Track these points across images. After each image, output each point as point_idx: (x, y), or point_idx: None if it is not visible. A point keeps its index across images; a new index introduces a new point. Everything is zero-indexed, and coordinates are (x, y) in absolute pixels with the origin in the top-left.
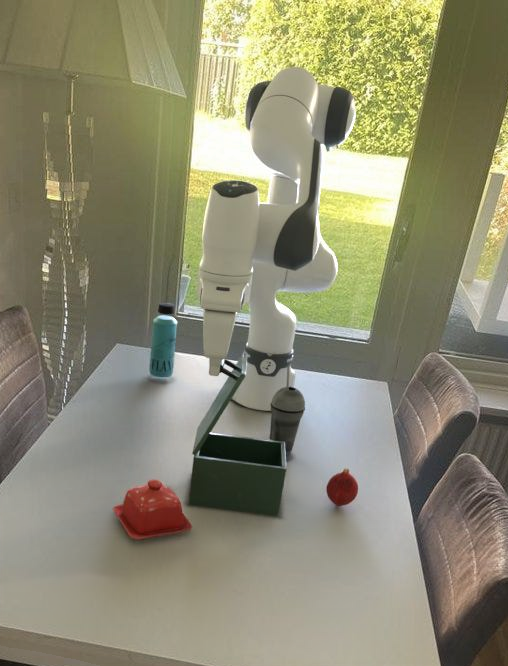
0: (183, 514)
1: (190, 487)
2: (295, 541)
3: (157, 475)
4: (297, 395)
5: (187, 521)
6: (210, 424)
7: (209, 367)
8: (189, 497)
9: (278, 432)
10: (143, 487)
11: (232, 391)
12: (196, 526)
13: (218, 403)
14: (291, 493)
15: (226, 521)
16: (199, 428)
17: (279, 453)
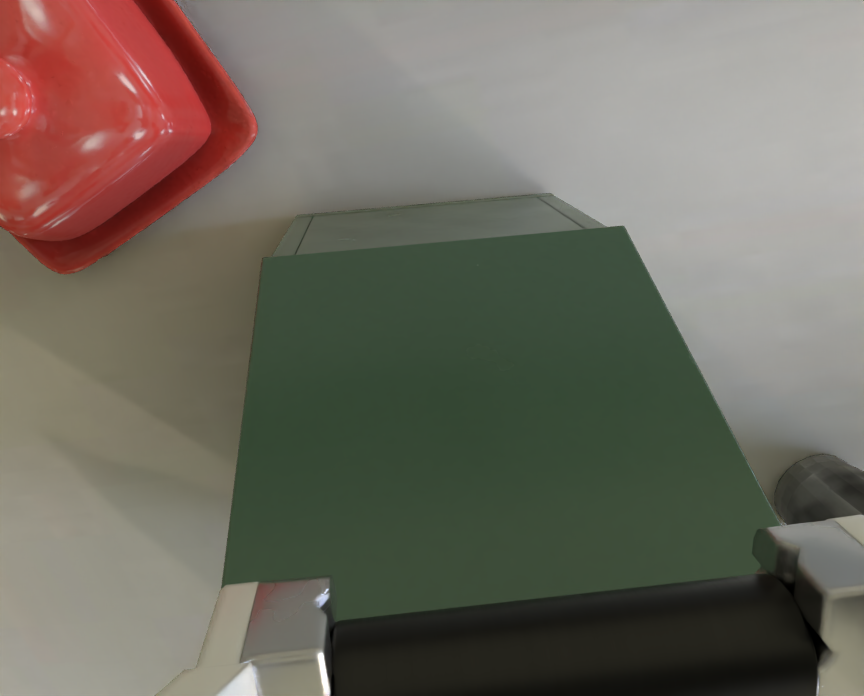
0: (145, 223)
1: (287, 230)
2: (201, 592)
3: (504, 26)
4: None
5: (102, 248)
6: (244, 414)
7: (202, 646)
8: (293, 221)
9: None
10: (13, 31)
11: None
12: (146, 274)
13: (440, 469)
14: None
15: (231, 373)
16: (543, 256)
17: None
